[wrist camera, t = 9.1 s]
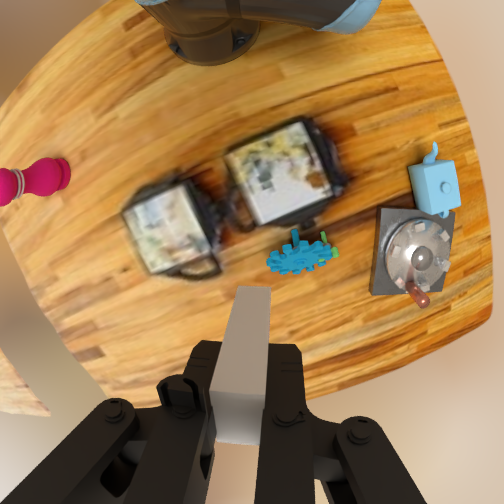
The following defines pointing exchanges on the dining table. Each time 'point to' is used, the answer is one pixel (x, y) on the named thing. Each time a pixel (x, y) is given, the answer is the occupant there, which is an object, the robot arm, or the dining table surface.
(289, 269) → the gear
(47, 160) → the pepper mill
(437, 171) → the teapot
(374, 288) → the base plate
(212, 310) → the dining table surface
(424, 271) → the grey rounded piece
